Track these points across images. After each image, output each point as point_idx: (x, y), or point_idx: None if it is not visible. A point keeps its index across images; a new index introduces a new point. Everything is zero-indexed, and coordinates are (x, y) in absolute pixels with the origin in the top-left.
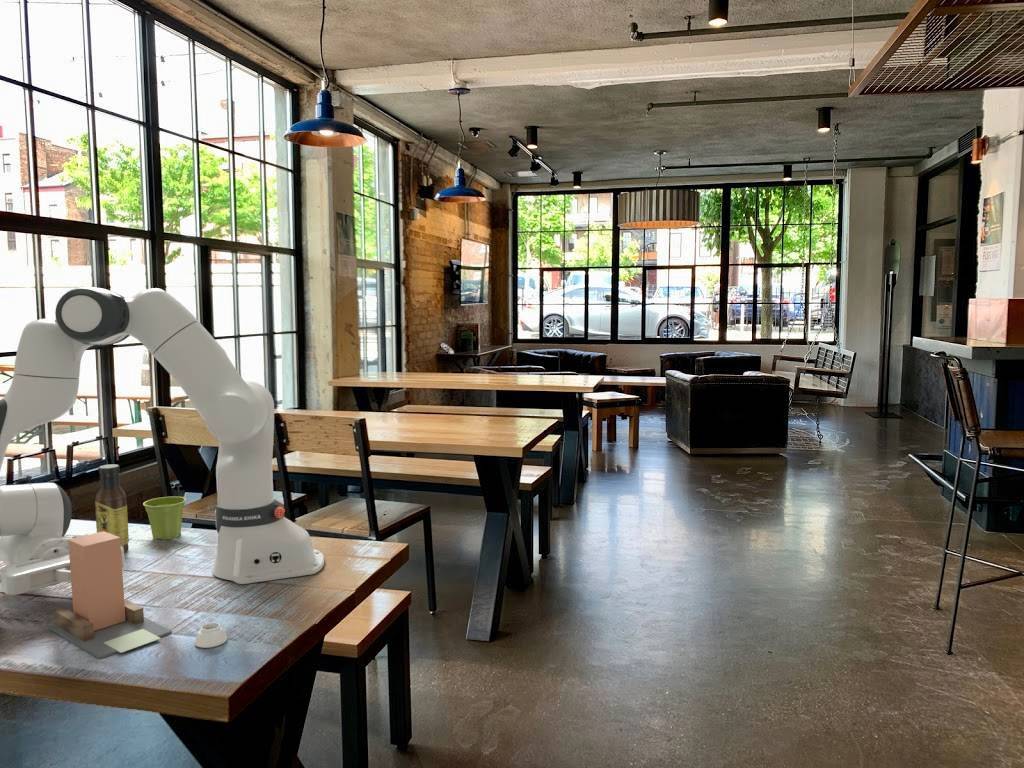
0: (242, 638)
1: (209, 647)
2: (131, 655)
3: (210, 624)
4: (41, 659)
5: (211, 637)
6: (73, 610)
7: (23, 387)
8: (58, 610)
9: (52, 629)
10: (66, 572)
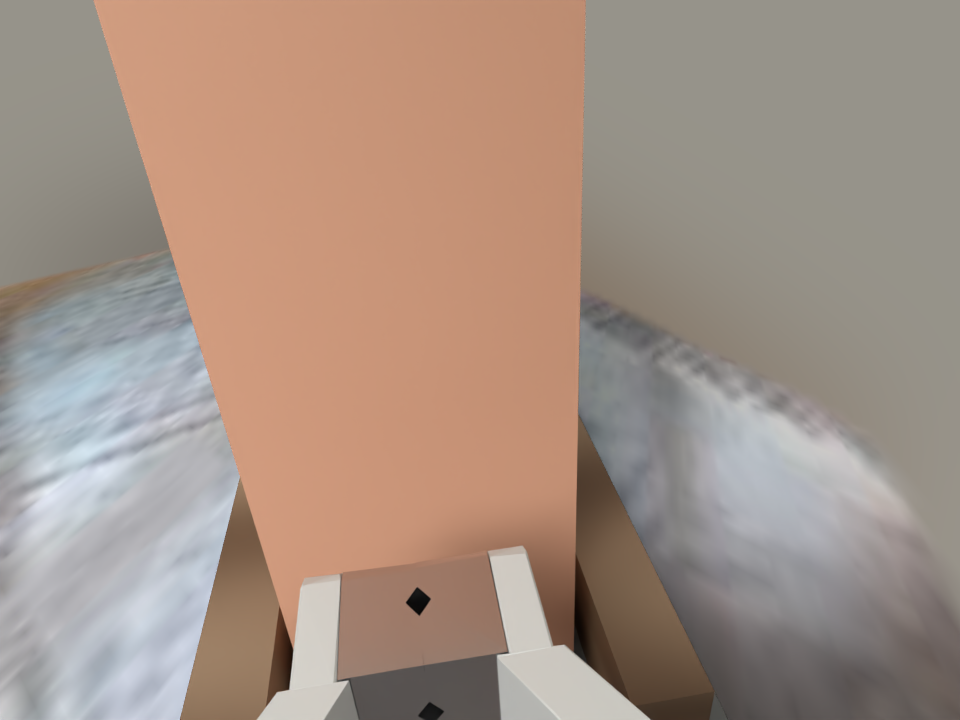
0: (183, 293)
1: None
2: None
3: None
4: (738, 426)
5: None
6: (573, 594)
7: None
8: (682, 684)
9: (718, 706)
10: (586, 665)
